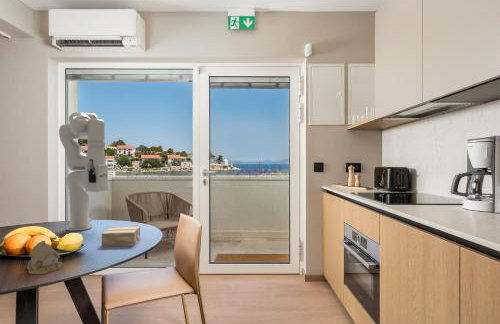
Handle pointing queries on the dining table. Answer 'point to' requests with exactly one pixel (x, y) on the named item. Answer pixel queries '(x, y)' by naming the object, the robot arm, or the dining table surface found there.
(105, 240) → the maple riser block
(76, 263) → the dining table surface
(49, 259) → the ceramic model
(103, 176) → the supplement box
